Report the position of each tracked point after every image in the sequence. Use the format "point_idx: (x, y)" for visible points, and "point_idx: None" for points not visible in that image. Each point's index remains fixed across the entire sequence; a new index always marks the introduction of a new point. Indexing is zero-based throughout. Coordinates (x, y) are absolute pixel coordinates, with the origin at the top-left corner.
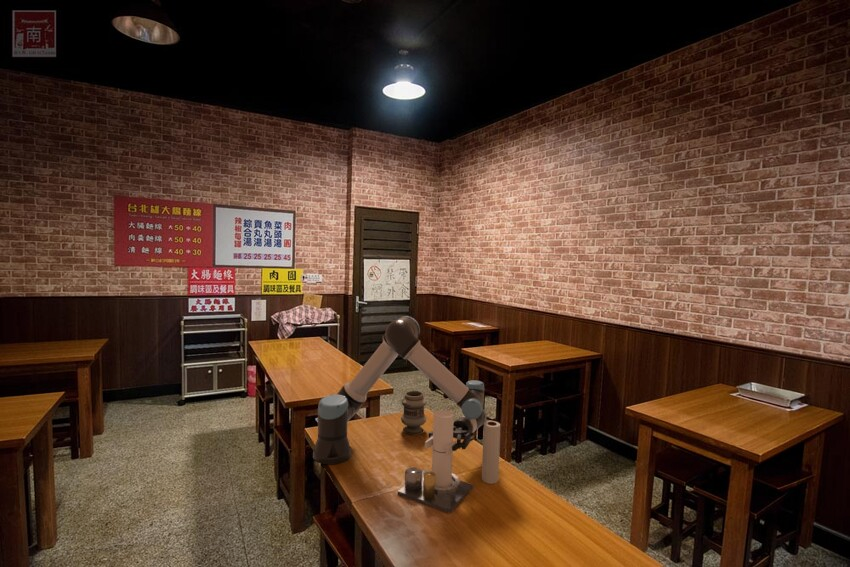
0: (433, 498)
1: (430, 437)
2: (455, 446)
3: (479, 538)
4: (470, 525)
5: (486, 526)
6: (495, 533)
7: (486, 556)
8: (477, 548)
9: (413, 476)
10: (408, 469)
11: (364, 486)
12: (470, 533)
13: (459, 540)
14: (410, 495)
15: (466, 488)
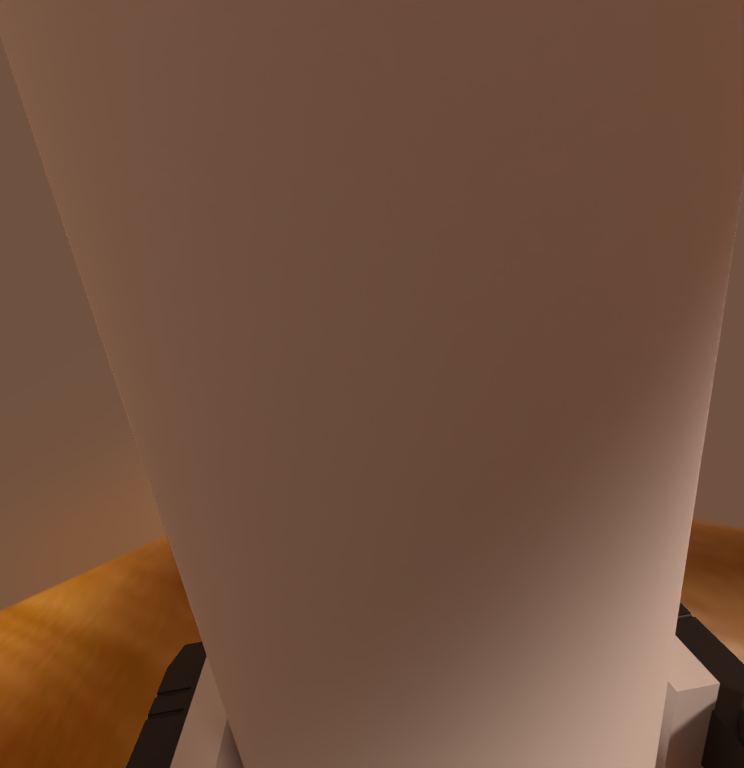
0: None
1: (702, 643)
2: (175, 669)
3: (98, 628)
4: (134, 671)
5: (44, 719)
6: (7, 701)
7: (85, 579)
8: (113, 587)
9: None
10: None
11: (700, 568)
12: (136, 629)
13: (178, 579)
14: None
15: None
